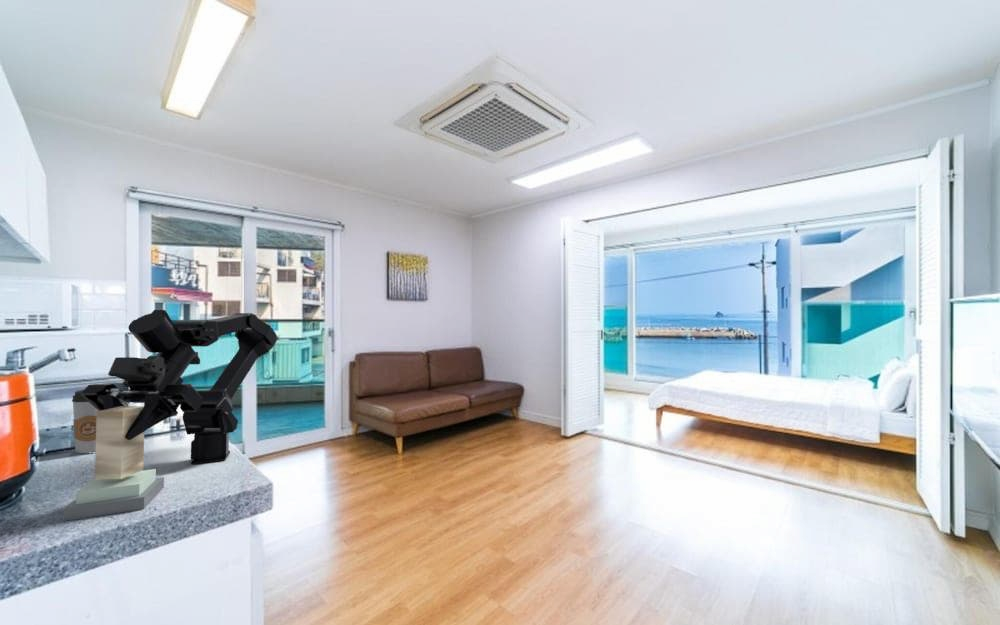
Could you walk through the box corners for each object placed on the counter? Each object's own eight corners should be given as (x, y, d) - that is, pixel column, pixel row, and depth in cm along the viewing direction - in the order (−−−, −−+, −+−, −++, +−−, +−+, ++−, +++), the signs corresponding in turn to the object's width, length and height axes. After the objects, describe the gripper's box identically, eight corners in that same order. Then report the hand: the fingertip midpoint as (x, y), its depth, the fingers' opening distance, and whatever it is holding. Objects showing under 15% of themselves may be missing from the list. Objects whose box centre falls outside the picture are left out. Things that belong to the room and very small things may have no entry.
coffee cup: (62, 457, 94) (64, 393, 95) (78, 448, 102) (81, 388, 102) (109, 452, 98) (111, 391, 99) (122, 443, 106) (124, 386, 106)
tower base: (163, 487, 77) (164, 466, 77) (144, 508, 68) (144, 485, 68) (94, 496, 73) (95, 474, 73) (63, 520, 64) (64, 495, 64)
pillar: (118, 470, 73) (120, 406, 73) (143, 469, 73) (145, 406, 73) (94, 479, 68) (96, 411, 69) (120, 479, 68) (122, 411, 69)
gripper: (92, 340, 75) (21, 413, 64) (193, 341, 76) (140, 412, 64) (129, 377, 83) (71, 447, 71) (220, 377, 83) (177, 447, 72)
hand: (113, 438), depth 69 cm, fingers closed on pillar, 4 cm apart
